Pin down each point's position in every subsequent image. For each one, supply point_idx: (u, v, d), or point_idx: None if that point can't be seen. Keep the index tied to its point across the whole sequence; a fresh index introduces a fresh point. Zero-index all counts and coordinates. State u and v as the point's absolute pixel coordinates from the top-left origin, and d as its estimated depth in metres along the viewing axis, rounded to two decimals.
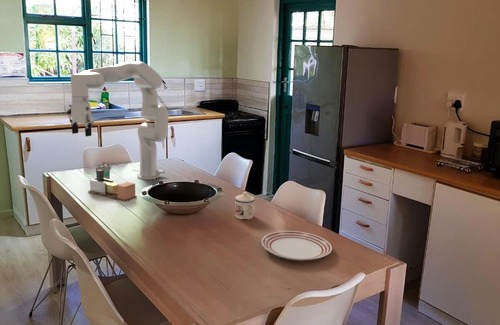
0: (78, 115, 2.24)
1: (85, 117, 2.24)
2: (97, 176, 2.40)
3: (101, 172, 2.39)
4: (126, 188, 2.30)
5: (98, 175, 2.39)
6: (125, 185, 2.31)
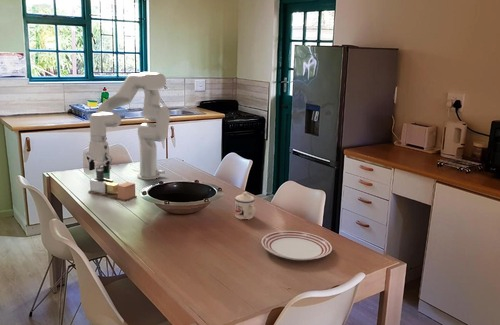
0: (97, 154, 2.35)
1: (104, 155, 2.34)
2: (97, 176, 2.40)
3: (101, 172, 2.39)
4: (126, 188, 2.30)
5: (98, 175, 2.39)
6: (125, 185, 2.31)
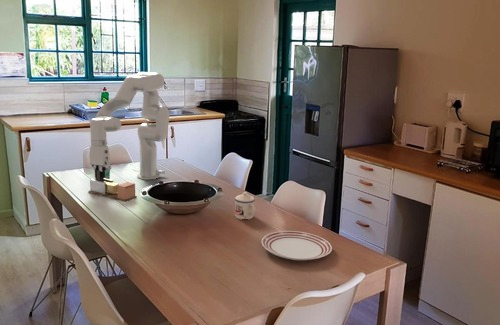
0: (98, 158, 2.35)
1: (104, 160, 2.35)
2: (97, 176, 2.40)
3: None
4: (126, 188, 2.30)
5: (98, 175, 2.39)
6: (125, 185, 2.31)
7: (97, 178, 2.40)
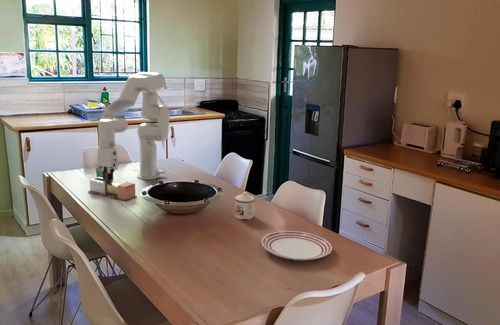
0: (106, 160, 2.33)
1: (113, 161, 2.33)
2: (105, 178, 2.37)
3: None
4: (126, 188, 2.30)
5: (106, 177, 2.37)
6: (125, 185, 2.31)
7: (105, 180, 2.38)
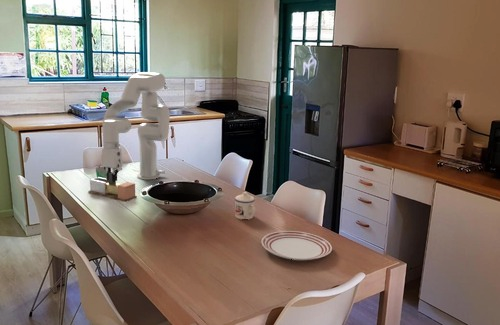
0: (110, 160, 2.32)
1: (117, 162, 2.31)
2: (109, 178, 2.36)
3: None
4: (126, 188, 2.30)
5: (110, 178, 2.36)
6: (125, 185, 2.31)
7: (109, 181, 2.36)
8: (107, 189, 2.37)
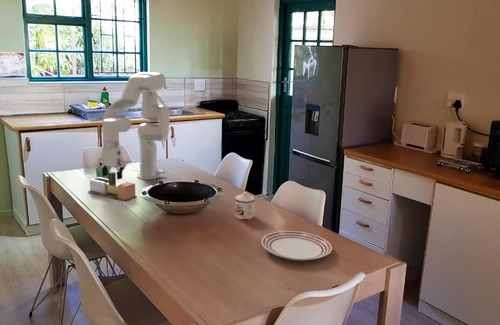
0: (110, 160, 2.32)
1: (117, 161, 2.31)
2: (109, 178, 2.36)
3: (113, 175, 2.36)
4: (126, 188, 2.30)
5: (110, 178, 2.36)
6: (125, 185, 2.31)
7: (109, 181, 2.36)
8: (107, 189, 2.37)
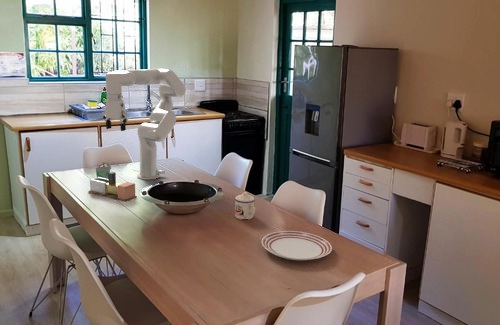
0: (114, 112, 2.42)
1: (120, 113, 2.41)
2: (109, 178, 2.36)
3: (113, 175, 2.36)
4: (126, 188, 2.30)
5: (110, 178, 2.36)
6: (125, 185, 2.31)
7: (109, 181, 2.36)
8: (107, 189, 2.37)
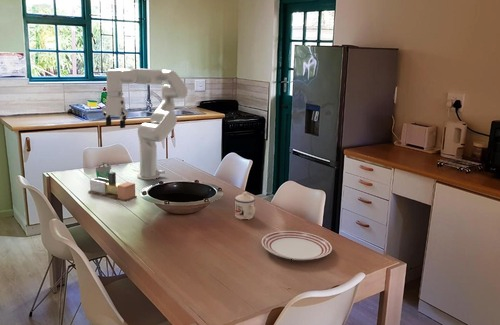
0: (114, 109, 2.43)
1: (120, 110, 2.42)
2: (109, 178, 2.36)
3: (113, 175, 2.36)
4: (126, 188, 2.30)
5: (110, 178, 2.36)
6: (125, 185, 2.31)
7: (109, 181, 2.36)
8: (107, 189, 2.37)
